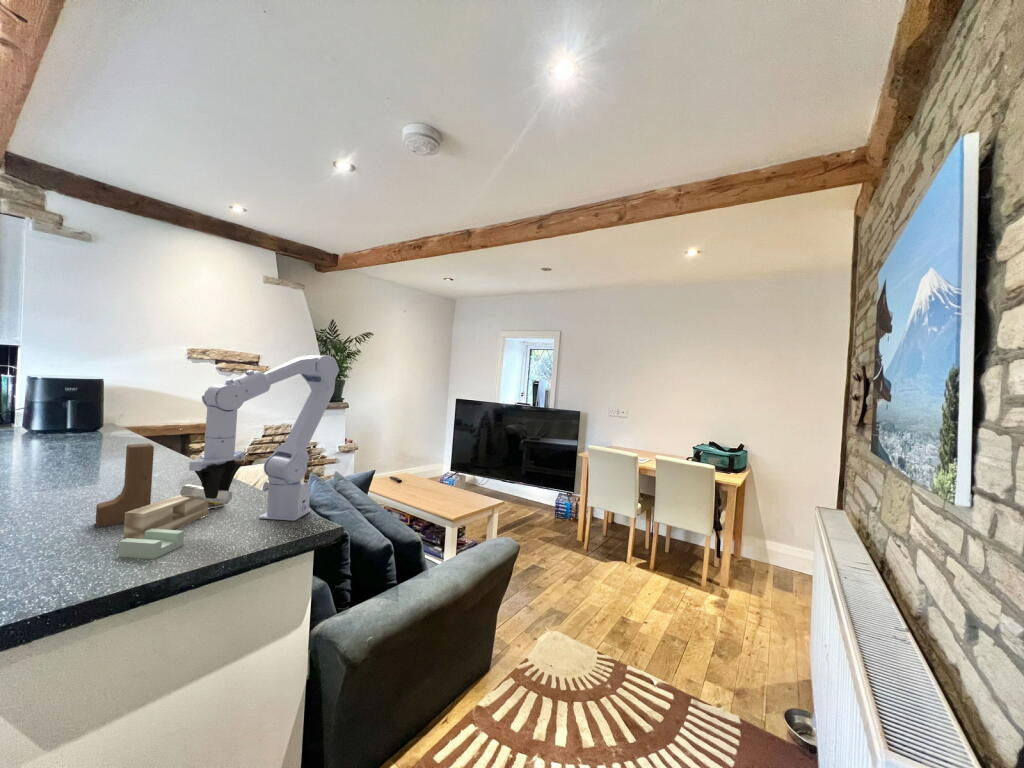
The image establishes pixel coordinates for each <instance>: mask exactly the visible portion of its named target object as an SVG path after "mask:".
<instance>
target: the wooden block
mask: <svg viewBox="0 0 1024 768" xmlns="http://www.w3.org/2000/svg"><path fill="white" fill-rule="evenodd" d="M154 450H155V446H154V445H153V444H151V443H136V444H135V443H132V444H128V445H126V450H125V451H126V452H125V467H124V468H125V469H124V482H123V483H124V484H123V487H122V490H121V493H119V494H118V495H117V496H116V497H114V498H113V499H111V500H106V501H103V502H100V503H97V504H96V507H95V509H96V510H95V524H96V526H97V528H104V527H110V526H116V525H122V524H124V521H125V512H128V511H131V510H135V509H138V508H141V507H144V506H147V505H150V504H151V499H152V484H153V471H154V470H153V468H154V466H153V465H154V453H155V451H154Z"/></svg>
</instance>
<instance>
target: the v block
mask: <svg viewBox="0 0 1024 768" xmlns="http://www.w3.org/2000/svg"><path fill="white" fill-rule="evenodd" d="M184 542H185V530H178V529H175V530H165V529H150V530H147V531H145V537H144V539H132V538H126V539H124V540H123V539H121V540H119V541H118V553H117V555H118V556H117V557H120V558H129V559H130V558H132V559H146V560H147V559H148V560H155V559H157V558H158V557H159V558H160V557H161V556H163V555H166V554H167V553H169V552H171V551H174V550H175V549H178V548H180V547H182V546H184Z"/></svg>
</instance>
